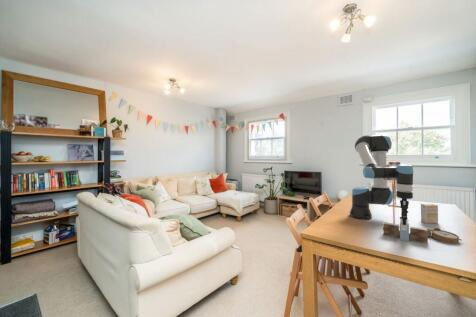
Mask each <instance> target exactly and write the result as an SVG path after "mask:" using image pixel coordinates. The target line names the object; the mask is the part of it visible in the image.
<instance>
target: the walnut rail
mask: <svg viewBox="0 0 476 317" xmlns="http://www.w3.org/2000/svg"><path fill="white" fill-rule="evenodd" d="M427 229H428V228H424V227H423V228H422V227H416V226H409V241H414V242H420V243H425V244H429V236H428V230H427ZM383 236H387V237H391V238H392V237H393V238H398V239H400V224H397V223H391V222H383Z"/></svg>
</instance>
